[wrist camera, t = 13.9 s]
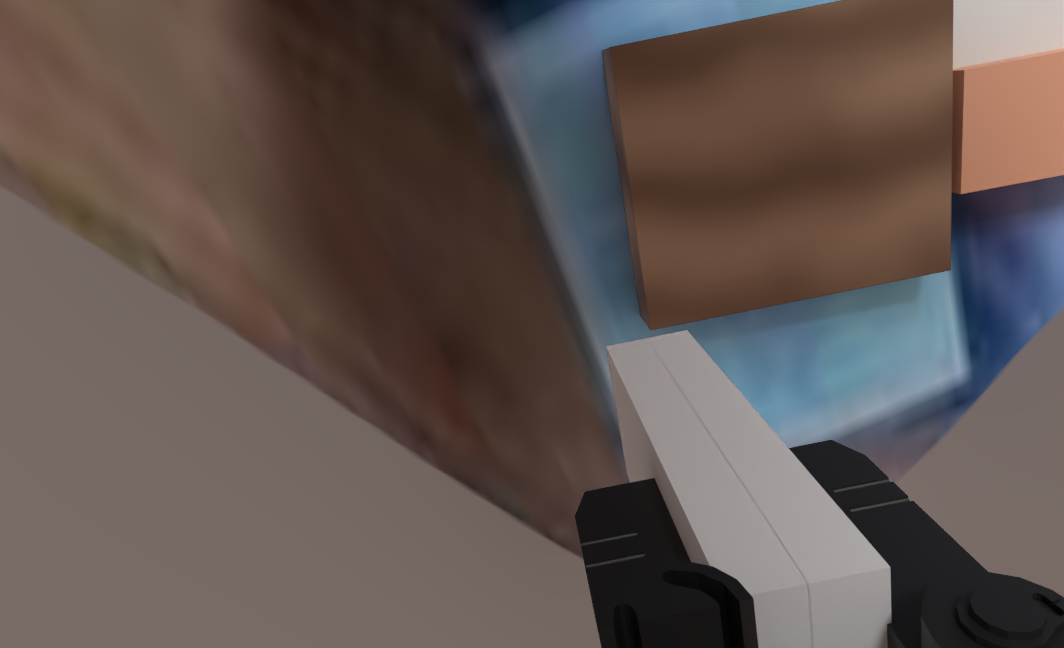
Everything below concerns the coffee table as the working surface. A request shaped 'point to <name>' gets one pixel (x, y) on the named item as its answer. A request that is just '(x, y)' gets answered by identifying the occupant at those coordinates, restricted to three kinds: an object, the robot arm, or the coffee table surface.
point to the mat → (1005, 29)
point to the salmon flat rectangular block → (1008, 121)
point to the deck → (785, 155)
